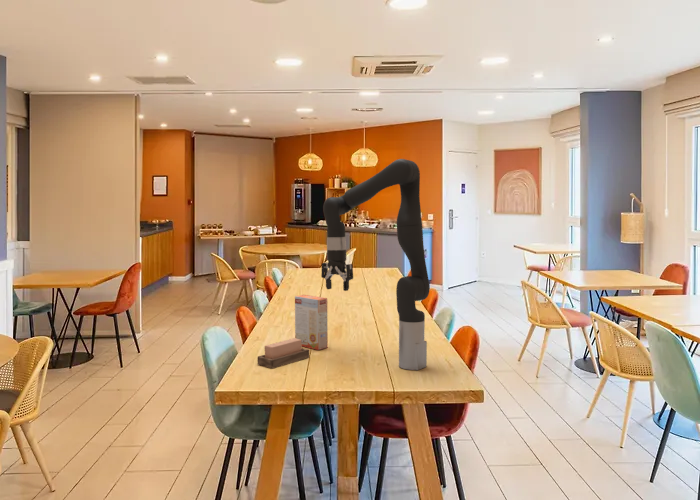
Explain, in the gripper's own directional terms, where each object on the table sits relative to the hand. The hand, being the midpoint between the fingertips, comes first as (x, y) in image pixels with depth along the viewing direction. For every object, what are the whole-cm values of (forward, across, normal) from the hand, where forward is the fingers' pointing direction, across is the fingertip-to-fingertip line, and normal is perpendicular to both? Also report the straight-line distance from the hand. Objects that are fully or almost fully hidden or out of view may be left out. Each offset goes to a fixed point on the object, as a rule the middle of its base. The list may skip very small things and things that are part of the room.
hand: (337, 289), depth 227 cm
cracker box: (+25, +16, -2) cm, 30 cm away
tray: (+25, +10, +20) cm, 34 cm away
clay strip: (+24, +10, +20) cm, 33 cm away
